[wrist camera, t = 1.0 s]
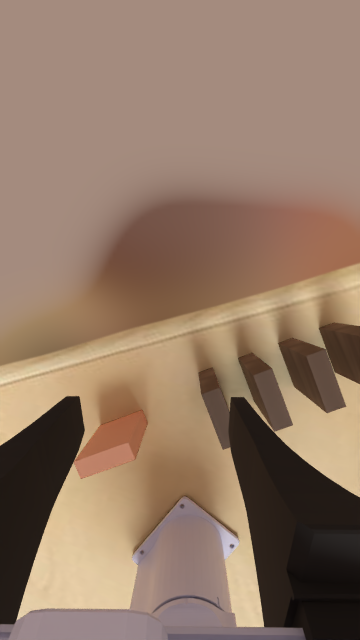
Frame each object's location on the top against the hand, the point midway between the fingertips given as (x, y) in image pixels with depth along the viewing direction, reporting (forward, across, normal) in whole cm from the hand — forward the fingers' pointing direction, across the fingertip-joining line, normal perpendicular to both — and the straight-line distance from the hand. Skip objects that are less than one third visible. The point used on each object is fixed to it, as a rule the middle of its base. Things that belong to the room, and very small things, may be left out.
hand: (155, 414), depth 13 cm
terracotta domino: (+14, +5, +13) cm, 19 cm away
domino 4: (+16, -17, +4) cm, 24 cm away
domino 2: (+15, -9, +7) cm, 19 cm away
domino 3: (+15, -13, +6) cm, 21 cm away
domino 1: (+14, -5, +9) cm, 17 cm away
